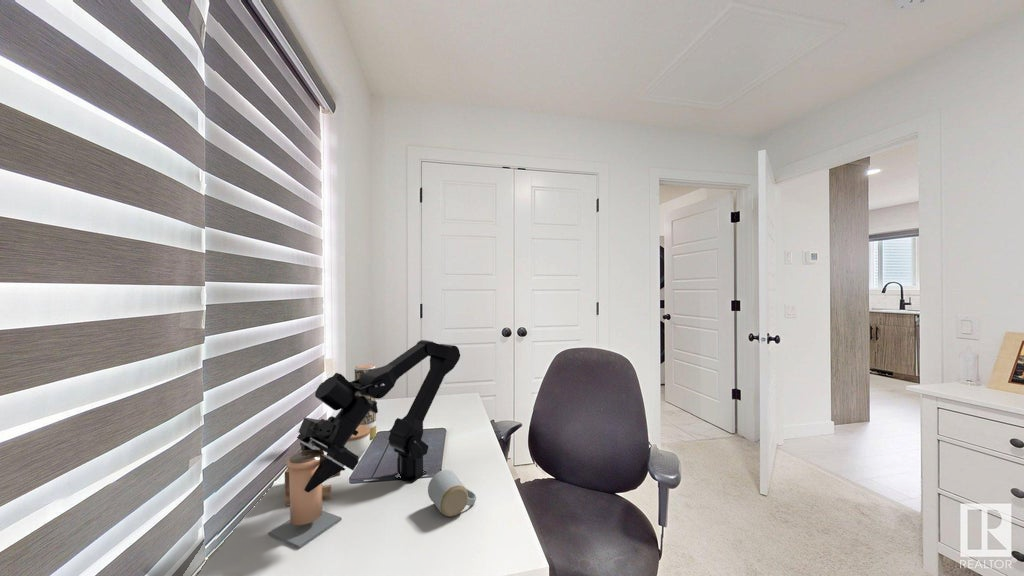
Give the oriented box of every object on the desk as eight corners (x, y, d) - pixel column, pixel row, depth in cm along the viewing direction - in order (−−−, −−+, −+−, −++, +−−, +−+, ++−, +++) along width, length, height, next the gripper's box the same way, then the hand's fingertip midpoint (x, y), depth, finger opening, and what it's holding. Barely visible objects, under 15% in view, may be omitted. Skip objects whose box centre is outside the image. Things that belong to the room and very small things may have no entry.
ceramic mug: (440, 524, 81) (441, 489, 81) (427, 505, 87) (427, 473, 87) (482, 508, 86) (482, 475, 87) (466, 492, 93) (467, 462, 93)
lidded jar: (361, 464, 109) (361, 432, 109) (326, 464, 109) (325, 432, 109) (375, 448, 119) (375, 419, 119) (343, 448, 120) (343, 419, 120)
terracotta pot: (329, 504, 84) (328, 447, 84) (319, 523, 77) (318, 461, 77) (294, 508, 83) (293, 450, 83) (281, 529, 76) (280, 466, 76)
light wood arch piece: (340, 473, 103) (340, 445, 103) (330, 498, 91) (330, 466, 91) (301, 478, 101) (300, 449, 101) (285, 505, 88) (284, 472, 88)
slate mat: (341, 520, 82) (341, 517, 82) (299, 548, 73) (299, 545, 73) (311, 509, 86) (311, 506, 86) (268, 535, 77) (268, 532, 77)
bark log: (371, 441, 125) (370, 368, 125) (351, 441, 125) (351, 368, 125) (379, 433, 131) (378, 364, 131) (360, 433, 131) (359, 364, 131)
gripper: (305, 395, 89) (252, 458, 80) (344, 410, 77) (287, 485, 69) (337, 418, 95) (292, 478, 86) (378, 435, 83) (330, 507, 75)
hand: (299, 486), depth 79 cm, fingers closed on terracotta pot, 6 cm apart
